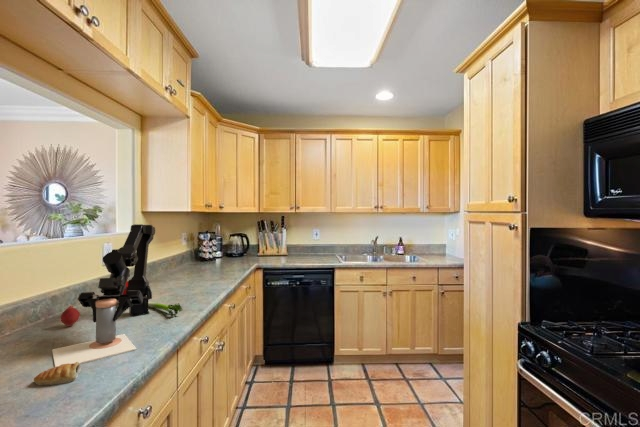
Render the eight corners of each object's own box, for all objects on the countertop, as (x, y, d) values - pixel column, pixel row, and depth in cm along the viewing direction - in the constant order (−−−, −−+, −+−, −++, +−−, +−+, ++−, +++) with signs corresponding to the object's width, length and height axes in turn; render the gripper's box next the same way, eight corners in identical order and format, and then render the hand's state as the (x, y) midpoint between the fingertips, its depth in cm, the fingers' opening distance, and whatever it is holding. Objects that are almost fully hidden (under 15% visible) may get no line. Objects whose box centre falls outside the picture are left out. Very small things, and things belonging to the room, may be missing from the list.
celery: (152, 308, 155) (187, 314, 137) (137, 313, 149) (171, 321, 132) (150, 295, 155) (185, 301, 137) (135, 300, 149) (169, 306, 131)
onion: (68, 329, 120) (69, 308, 120) (56, 328, 121) (56, 307, 121) (83, 324, 126) (83, 303, 126) (71, 323, 127) (71, 303, 127)
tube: (109, 335, 111) (109, 297, 111) (120, 338, 108) (120, 299, 108) (91, 341, 105) (91, 301, 105) (102, 344, 103) (102, 304, 103)
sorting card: (124, 334, 115) (124, 333, 115) (136, 349, 103) (136, 348, 103) (52, 350, 102) (52, 349, 102) (55, 370, 89) (55, 368, 89)
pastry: (29, 390, 79) (29, 375, 79) (39, 378, 85) (39, 363, 85) (76, 382, 83) (76, 367, 83) (82, 371, 89) (82, 357, 89)
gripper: (80, 268, 109) (61, 311, 98) (140, 267, 113) (129, 307, 102) (91, 286, 116) (75, 327, 106) (147, 284, 120) (137, 323, 110)
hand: (104, 321), depth 105 cm, fingers closed on tube, 5 cm apart
